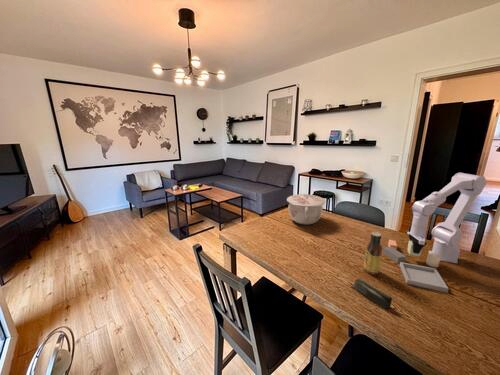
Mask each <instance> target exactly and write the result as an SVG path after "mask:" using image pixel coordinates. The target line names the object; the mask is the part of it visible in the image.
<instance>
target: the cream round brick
mask: <svg viewBox="0 0 500 375" xmlns="http://www.w3.org/2000/svg"><path fill="white" fill-rule="evenodd" d="M440 258H441V257H440V256H439V255H437V254H434V253H429V252H428V254H427V257H426V263H425V264H426V265H428V266H429V267H430V268H439V266H440V261H441V260H440Z"/></svg>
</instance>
